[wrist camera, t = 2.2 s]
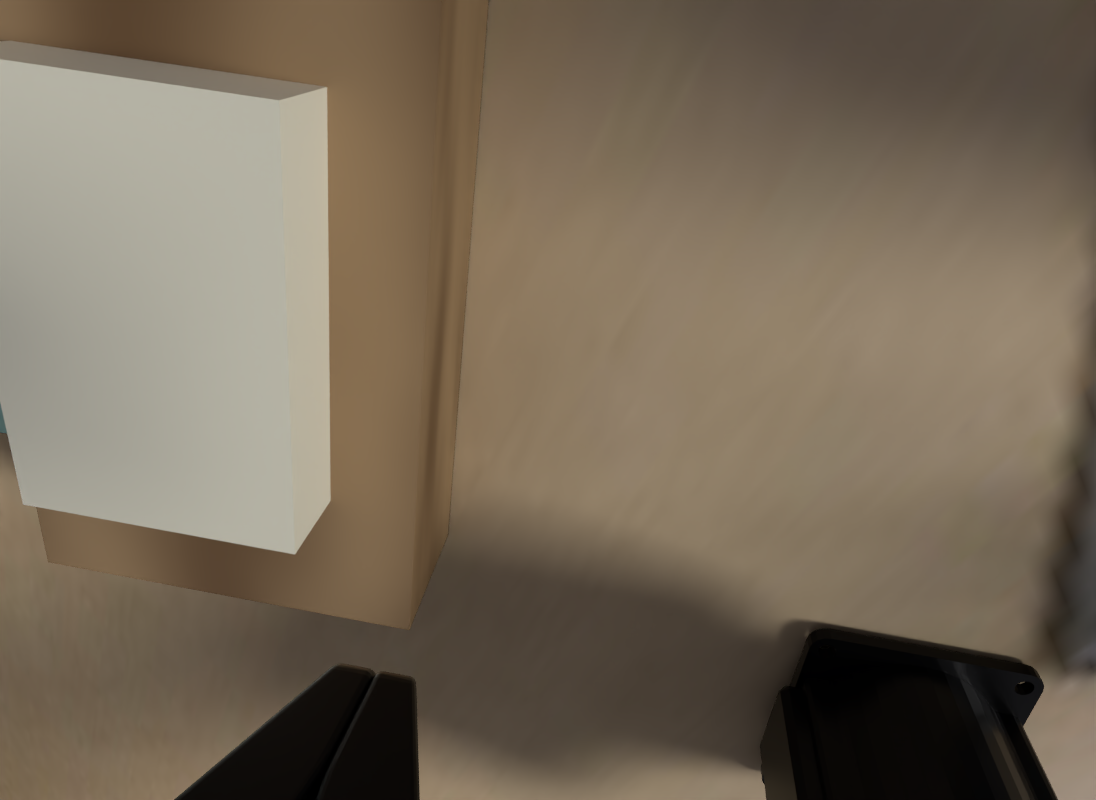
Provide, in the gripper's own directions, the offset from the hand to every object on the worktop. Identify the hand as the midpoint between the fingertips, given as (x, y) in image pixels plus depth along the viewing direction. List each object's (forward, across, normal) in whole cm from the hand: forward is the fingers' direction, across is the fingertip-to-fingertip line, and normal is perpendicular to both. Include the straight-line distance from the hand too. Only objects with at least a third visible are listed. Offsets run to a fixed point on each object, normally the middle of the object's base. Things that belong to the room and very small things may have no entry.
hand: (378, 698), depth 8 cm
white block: (+9, +7, 0) cm, 11 cm away
